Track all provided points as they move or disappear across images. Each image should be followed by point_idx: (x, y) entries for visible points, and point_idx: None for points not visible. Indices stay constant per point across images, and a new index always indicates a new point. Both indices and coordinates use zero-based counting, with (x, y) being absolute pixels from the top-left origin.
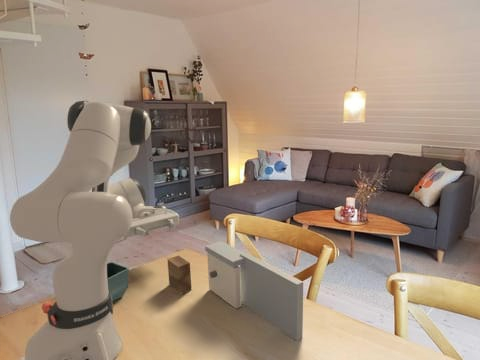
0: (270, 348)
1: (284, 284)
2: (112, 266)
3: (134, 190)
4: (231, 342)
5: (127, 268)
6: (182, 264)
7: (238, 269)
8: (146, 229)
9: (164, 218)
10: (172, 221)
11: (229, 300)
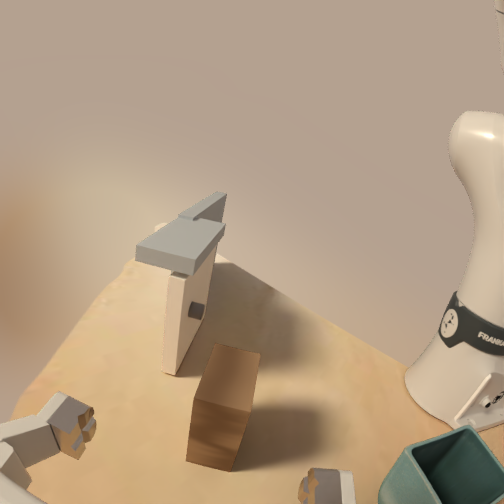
0: (244, 276)
1: (220, 206)
2: None
3: None
4: (270, 301)
5: (410, 448)
6: (239, 353)
7: None
8: (318, 488)
9: (13, 484)
10: (19, 420)
11: (199, 321)
